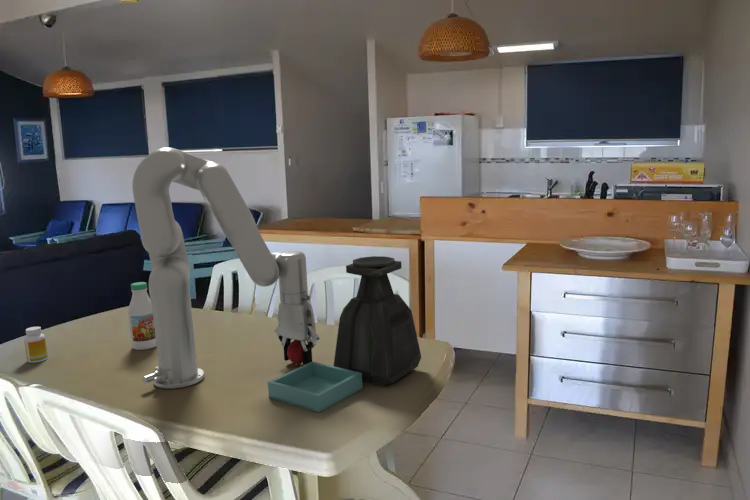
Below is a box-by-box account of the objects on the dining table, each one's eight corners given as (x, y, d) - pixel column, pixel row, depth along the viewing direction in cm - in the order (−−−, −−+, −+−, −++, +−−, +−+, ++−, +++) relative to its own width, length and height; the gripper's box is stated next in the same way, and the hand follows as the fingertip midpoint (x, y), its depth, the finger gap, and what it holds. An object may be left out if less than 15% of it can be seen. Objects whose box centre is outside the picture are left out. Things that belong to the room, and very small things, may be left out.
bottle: (331, 377, 159) (325, 263, 154) (368, 358, 172) (363, 252, 167) (390, 391, 149) (385, 269, 144) (424, 369, 162) (421, 257, 157)
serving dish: (319, 412, 139) (318, 395, 138) (268, 397, 148) (267, 381, 147) (362, 388, 151) (361, 372, 151) (313, 376, 161) (312, 361, 160)
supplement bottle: (52, 358, 183) (47, 326, 182) (35, 364, 179) (30, 331, 177) (39, 356, 186) (35, 324, 184) (23, 362, 181) (18, 330, 179)
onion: (305, 369, 166) (303, 340, 164) (284, 368, 167) (282, 340, 165) (311, 361, 171) (310, 333, 170) (292, 360, 172) (290, 333, 171)
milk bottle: (126, 349, 189) (119, 285, 185) (144, 341, 196) (137, 279, 192) (146, 351, 186) (139, 286, 182) (164, 343, 193) (157, 281, 189)
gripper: (327, 298, 164) (331, 362, 167) (280, 290, 174) (285, 352, 177) (308, 304, 158) (312, 371, 161) (261, 296, 168) (266, 360, 171)
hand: (298, 360), depth 169 cm, fingers open, 6 cm apart
